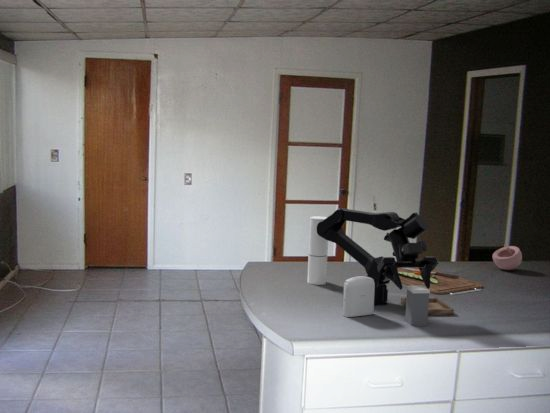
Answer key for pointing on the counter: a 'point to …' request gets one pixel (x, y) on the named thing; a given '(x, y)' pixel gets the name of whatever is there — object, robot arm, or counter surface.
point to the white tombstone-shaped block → (358, 296)
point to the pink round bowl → (507, 257)
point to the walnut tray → (435, 307)
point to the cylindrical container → (317, 254)
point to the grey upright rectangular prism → (417, 305)
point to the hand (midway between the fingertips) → (415, 288)
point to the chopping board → (438, 281)
